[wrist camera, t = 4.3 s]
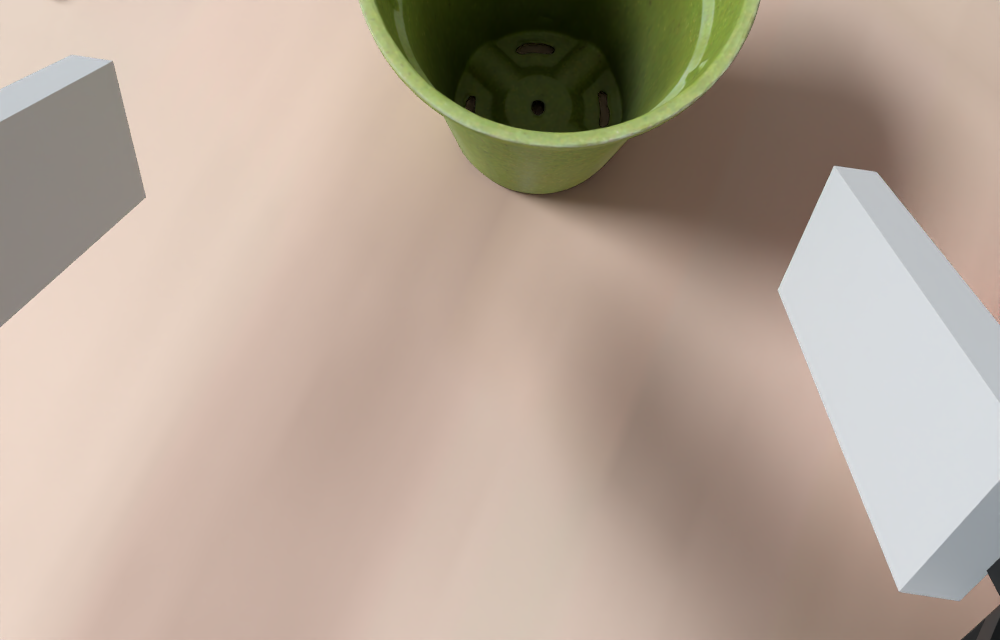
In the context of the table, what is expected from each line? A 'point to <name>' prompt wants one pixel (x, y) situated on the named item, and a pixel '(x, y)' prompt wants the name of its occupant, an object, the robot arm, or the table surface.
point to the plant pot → (556, 74)
